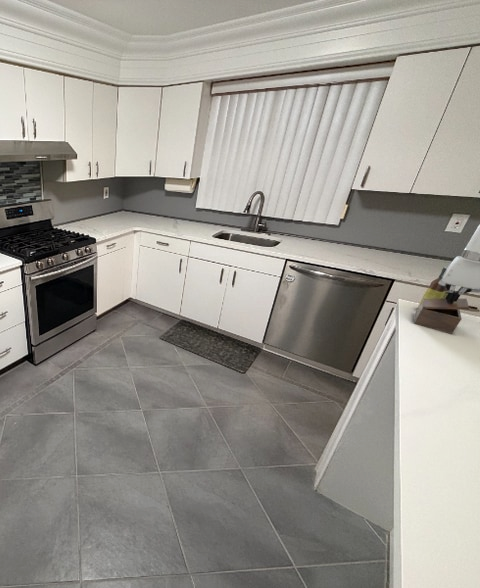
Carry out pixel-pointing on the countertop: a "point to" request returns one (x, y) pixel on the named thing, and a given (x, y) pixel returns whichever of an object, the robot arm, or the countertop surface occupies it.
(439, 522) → the countertop surface
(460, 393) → the countertop surface
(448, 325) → the walnut box
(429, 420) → the countertop surface
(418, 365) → the countertop surface
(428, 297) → the sauce bottle
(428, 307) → the hatch
